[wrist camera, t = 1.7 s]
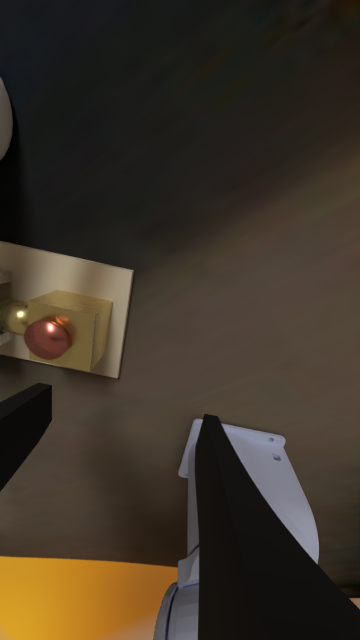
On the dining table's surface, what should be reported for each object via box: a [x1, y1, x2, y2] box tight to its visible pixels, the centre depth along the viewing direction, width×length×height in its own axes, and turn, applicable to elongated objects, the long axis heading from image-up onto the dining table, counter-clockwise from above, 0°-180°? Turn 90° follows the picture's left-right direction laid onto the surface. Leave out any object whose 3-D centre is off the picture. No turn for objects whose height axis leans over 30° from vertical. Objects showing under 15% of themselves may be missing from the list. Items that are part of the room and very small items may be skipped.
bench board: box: [0, 241, 134, 378], centre depth 19 cm, size 19×10×1 cm, turn 78°
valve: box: [0, 290, 113, 372], centre depth 17 cm, size 8×4×4 cm, turn 78°
